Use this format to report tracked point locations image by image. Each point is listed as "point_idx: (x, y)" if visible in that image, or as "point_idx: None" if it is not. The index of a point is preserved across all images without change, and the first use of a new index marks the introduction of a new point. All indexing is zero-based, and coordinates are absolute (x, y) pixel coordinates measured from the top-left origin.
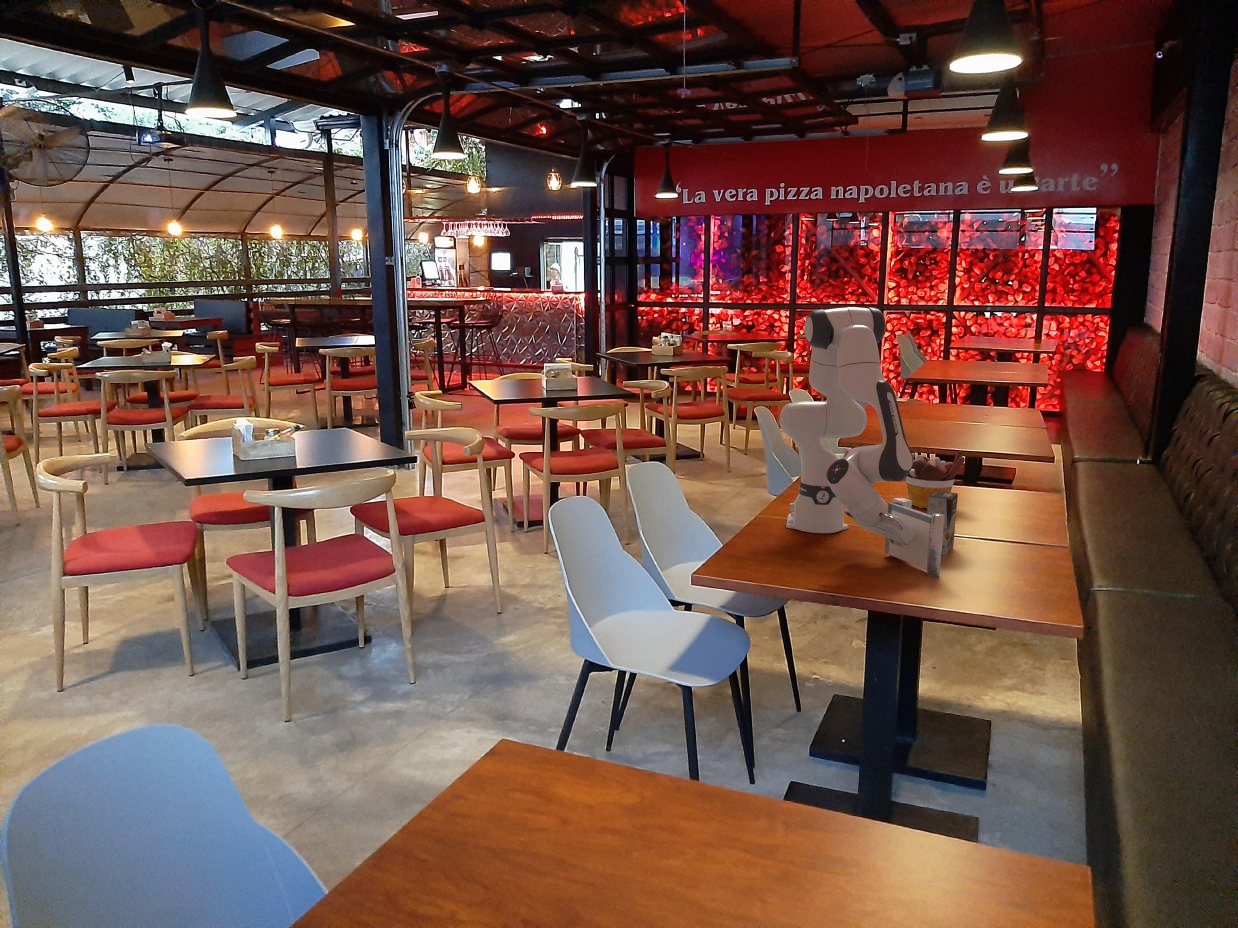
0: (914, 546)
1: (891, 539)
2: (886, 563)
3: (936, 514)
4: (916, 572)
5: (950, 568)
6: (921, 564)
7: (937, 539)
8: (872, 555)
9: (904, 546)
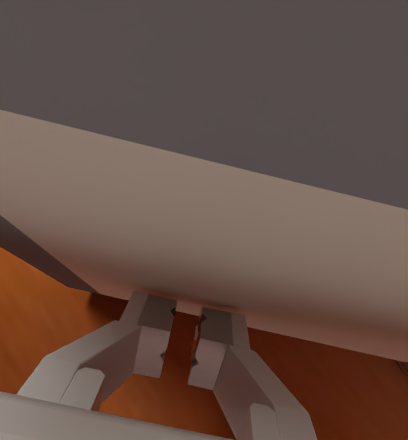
0: (366, 336)
1: (157, 365)
2: (168, 402)
3: None
4: (354, 384)
5: None
6: (376, 353)
7: None
8: (18, 343)
9: (249, 316)
